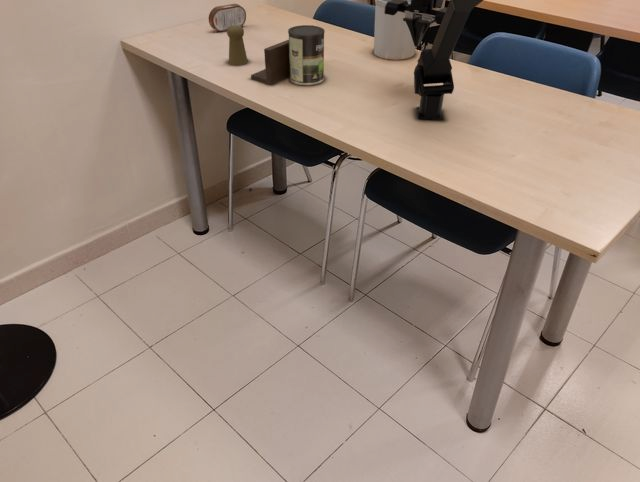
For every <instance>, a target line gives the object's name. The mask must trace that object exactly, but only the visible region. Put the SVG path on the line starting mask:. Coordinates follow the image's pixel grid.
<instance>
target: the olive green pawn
mask: <svg viewBox="0 0 640 482" xmlns="http://www.w3.org/2000/svg"><path fill="white" fill-rule="evenodd" d="M226 34H227V37H228V39H229V40H228V43H229V44H228V45H229V46H228V64H229V65H231V66H244V65H247V64H248V63H249V61H248V56H247V51H246V47H245V43H244V36H245V31H244V28H243V26H242V27H241V26H237V25H234V26H230V27H228V29H227V31H226Z"/></svg>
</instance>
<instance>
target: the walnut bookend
mask: <svg viewBox="0 0 640 482" xmlns="http://www.w3.org/2000/svg"><path fill="white" fill-rule="evenodd" d="M263 51H264V52H263V53H264V69H262V70H260V71H256V72H255V73H252V74H250V79H251V80H253V81H257V82H260V83H262V84H266V85H270V86H273V85H274V84H278V83H279V82H281V81H284V80H287V79H288V78H290V59H289V39H286V40H283V41H281V42H279V43H276V44H273V45H271V46H268V47H265V48H264V49H263Z"/></svg>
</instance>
